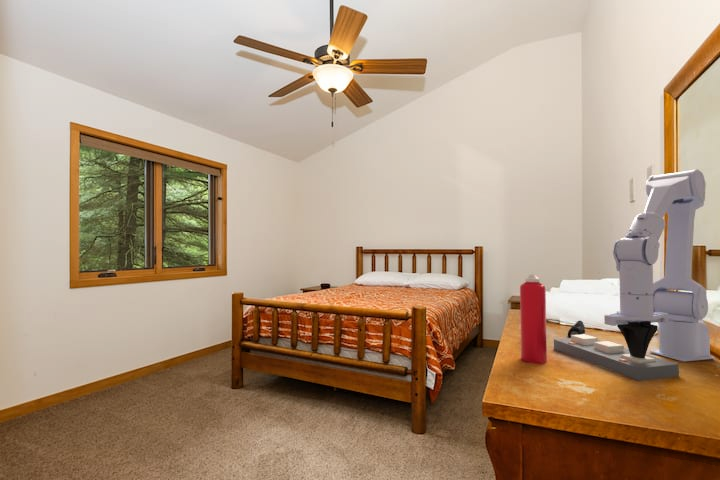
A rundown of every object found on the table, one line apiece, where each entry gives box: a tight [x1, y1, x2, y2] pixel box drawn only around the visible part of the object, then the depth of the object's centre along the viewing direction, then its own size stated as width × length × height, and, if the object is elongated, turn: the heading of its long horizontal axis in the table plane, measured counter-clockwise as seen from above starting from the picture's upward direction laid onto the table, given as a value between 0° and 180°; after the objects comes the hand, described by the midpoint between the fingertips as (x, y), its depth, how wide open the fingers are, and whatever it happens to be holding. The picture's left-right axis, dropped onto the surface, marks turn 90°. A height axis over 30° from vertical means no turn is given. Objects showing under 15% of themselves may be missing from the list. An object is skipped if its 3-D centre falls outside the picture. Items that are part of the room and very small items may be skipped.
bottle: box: [519, 274, 548, 365], centre depth 86 cm, size 6×5×20 cm
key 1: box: [571, 333, 599, 346], centre depth 92 cm, size 4×4×3 cm
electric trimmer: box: [567, 320, 586, 338], centre depth 112 cm, size 4×16×3 cm, turn 144°
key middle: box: [594, 340, 625, 354], centre depth 85 cm, size 4×4×3 cm
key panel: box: [553, 337, 680, 382], centre depth 85 cm, size 10×23×3 cm, turn 12°
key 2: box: [621, 354, 655, 364], centre depth 78 cm, size 4×4×3 cm
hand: (637, 357), depth 78 cm, fingers closed, pressing on key 2
